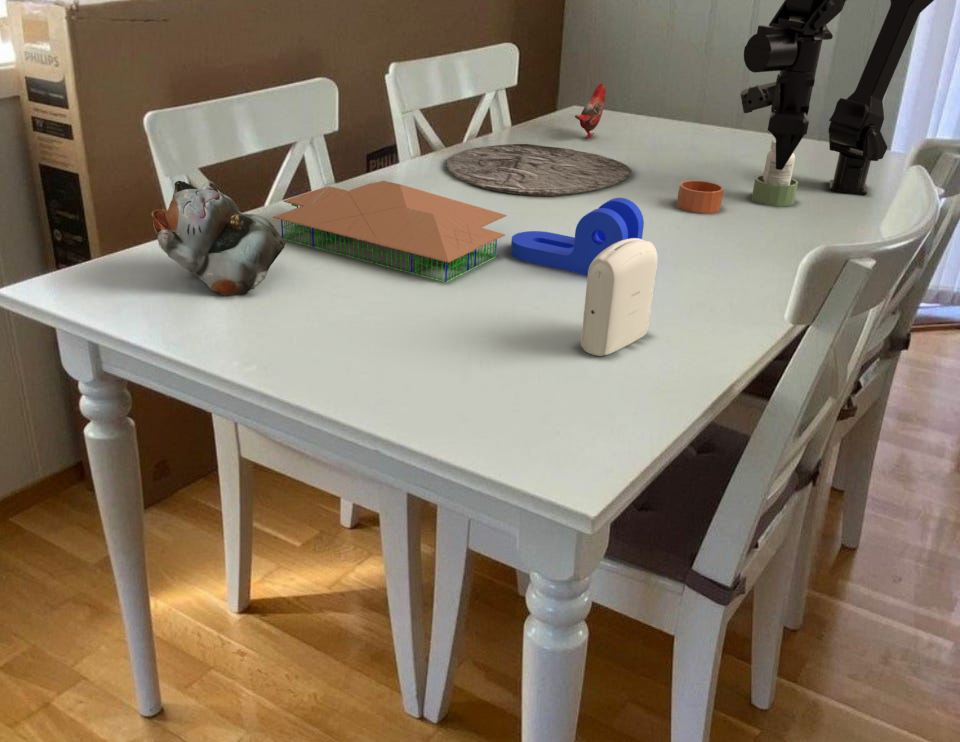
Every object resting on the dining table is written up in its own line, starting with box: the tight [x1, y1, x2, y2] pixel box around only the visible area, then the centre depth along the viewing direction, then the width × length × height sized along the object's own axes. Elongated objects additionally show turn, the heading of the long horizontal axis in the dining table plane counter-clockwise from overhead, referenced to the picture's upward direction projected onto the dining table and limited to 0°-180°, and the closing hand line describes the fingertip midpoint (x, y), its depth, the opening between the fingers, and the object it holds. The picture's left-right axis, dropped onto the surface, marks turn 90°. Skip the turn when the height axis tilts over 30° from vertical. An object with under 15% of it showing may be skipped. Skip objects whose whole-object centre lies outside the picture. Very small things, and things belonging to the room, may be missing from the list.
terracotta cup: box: [676, 179, 725, 214], centre depth 172 cm, size 7×7×4 cm
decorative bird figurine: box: [574, 83, 607, 140], centre depth 209 cm, size 3×18×10 cm, turn 156°
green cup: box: [751, 174, 799, 207], centre depth 178 cm, size 7×7×4 cm
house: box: [272, 180, 507, 283], centre depth 149 cm, size 23×33×8 cm
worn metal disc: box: [445, 143, 632, 197], centre depth 189 cm, size 33×35×1 cm
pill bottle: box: [762, 138, 796, 185], centre depth 176 cm, size 5×5×8 cm
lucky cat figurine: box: [150, 180, 287, 297], centre depth 131 cm, size 15×12×14 cm
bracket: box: [510, 197, 645, 276], centre depth 145 cm, size 18×8×9 cm, turn 62°
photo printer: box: [580, 238, 659, 357], centre depth 119 cm, size 10×4×12 cm, turn 140°
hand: (779, 165), depth 176 cm, fingers closed on pill bottle, 5 cm apart
